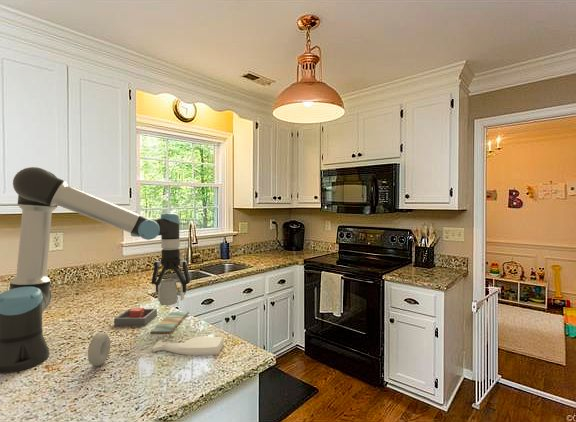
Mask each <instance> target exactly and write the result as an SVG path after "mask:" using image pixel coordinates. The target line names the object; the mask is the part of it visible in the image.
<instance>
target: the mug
mask: <svg viewBox="0 0 576 422" xmlns="http://www.w3.org/2000/svg"><path fill="white" fill-rule="evenodd" d="M182 275H183V276H184V273H182ZM177 283H180V286H181V285H182V283H181V281H180V279H179V278H178V279H175V278H167V279H162V280H161V283H160V284H161V285H160V299H159V301H158V302H159V304H160V306H172V305H176V304H177V303H178V299H179V297H181V294H180V291H178V290H177V289H178V285H177ZM186 289H187V285H186ZM186 292H187V291H186ZM186 292H184V296H186V294H187V293H186ZM178 296H179V297H178Z"/></svg>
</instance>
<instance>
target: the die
mask: <svg viewBox="0 0 576 422" xmlns="http://www.w3.org/2000/svg"><path fill="white" fill-rule="evenodd" d="M131 309H132V310H130V311H129V318H144V309H145V307H134V308H131Z"/></svg>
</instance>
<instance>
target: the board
mask: <svg viewBox="0 0 576 422" xmlns="http://www.w3.org/2000/svg"><path fill="white" fill-rule="evenodd" d="M189 314H190V312H189V311H171V312H170V313H169V314H168V315H166V317H164V318H163V319H162V321H160V322H159V323H158V324H157V325H155V327H154V328H152V329H151V331H149V333H150V334H173V332H174V331H175V330H176V329H177V327H178V326H179V325H180V324H181V323H182V322H183V321H184V320H185V319H186V317H187V316H188V315H189ZM183 319H184V320H183ZM182 320H183V321H182ZM175 328H176V329H175Z"/></svg>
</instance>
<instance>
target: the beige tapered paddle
mask: <svg viewBox="0 0 576 422" xmlns="http://www.w3.org/2000/svg"><path fill="white" fill-rule="evenodd" d="M224 344H225V343H224V338H223V337H221V336H198V337H197V336H196V337H193V338H190V339H188V340H185V341H184V342H182V343H181V342H178V343H177V342H174V343H173V341H165V342H163V340H161V339H160V340H159V341H157V342H156V343H154V344H153V346H151V350H152V352H153V353H155V352H157V351H166V352H169V353H174V354H179V355H184V356H185V355H187V356H215V355H219V353H220V352H221V350H222V348H223V346H224Z"/></svg>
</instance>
